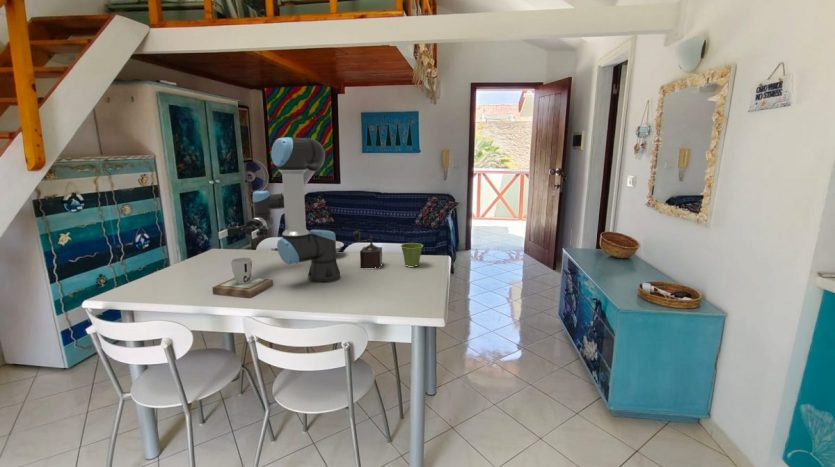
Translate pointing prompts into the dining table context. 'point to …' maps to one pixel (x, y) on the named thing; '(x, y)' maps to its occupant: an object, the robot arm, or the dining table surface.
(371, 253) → the manual coffee grinder
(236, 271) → the cup
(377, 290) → the dining table surface
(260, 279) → the wooden tray
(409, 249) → the plant pot
